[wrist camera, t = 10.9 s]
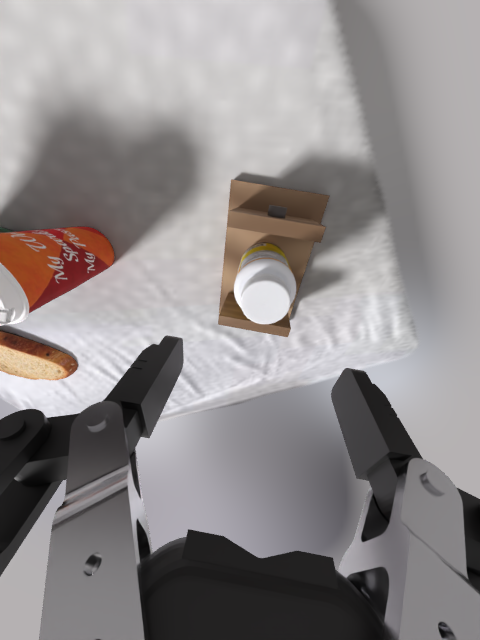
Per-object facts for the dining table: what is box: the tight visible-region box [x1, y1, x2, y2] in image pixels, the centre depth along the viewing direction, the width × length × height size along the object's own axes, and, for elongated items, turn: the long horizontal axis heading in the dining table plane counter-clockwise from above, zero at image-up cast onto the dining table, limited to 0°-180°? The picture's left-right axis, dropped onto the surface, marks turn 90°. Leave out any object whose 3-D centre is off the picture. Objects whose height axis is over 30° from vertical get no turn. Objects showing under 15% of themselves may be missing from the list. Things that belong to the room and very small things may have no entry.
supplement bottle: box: [234, 242, 296, 324], centre depth 20 cm, size 6×6×10 cm
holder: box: [218, 180, 329, 337], centre depth 22 cm, size 16×10×7 cm, turn 172°
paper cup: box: [0, 227, 114, 326], centre depth 21 cm, size 8×8×14 cm
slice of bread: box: [0, 331, 78, 380], centre depth 39 cm, size 18×18×4 cm
